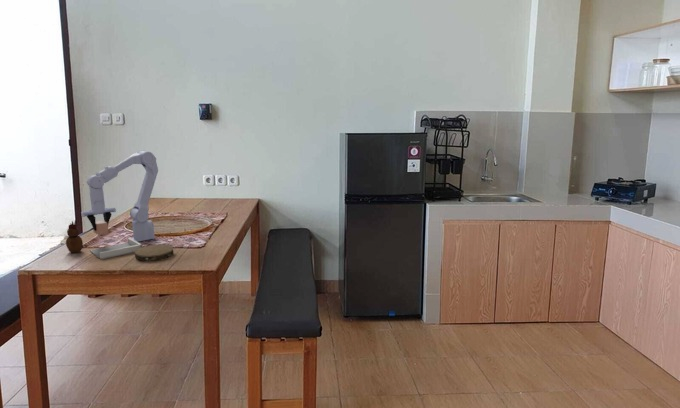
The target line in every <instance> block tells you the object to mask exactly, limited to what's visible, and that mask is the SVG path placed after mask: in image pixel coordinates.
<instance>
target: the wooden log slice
mask: <svg viewBox="0 0 680 408" xmlns="http://www.w3.org/2000/svg"><path fill="white" fill-rule="evenodd" d="M173 255H174V247H173V246H171V245H169V244H168V245H167V244H154V245H147V246H142V248H140V249H137V250H136V251H135V253H134V258H135V260H136V261H139V262H144V263H145V262H148V263H150V262H158V261H159V262H160V261H163V260H167V259H169V258H172V257H173Z"/></svg>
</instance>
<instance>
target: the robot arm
mask: <svg viewBox="0 0 680 408" xmlns="http://www.w3.org/2000/svg"><path fill="white" fill-rule="evenodd" d="M157 163H158V162H157V158H156V156H155V154H153V152H151V151H146V150H138V151H137V152H134V153H133V154H131V155H130V156H128V157H127V158H125V159H123V160H122V161H120V162H119V163H117V164H116V165H114V166H113V165H106V166H104V167H103V169H102V170H100V171H99V172H97V171H96V172H95V174H94V175H93V174H92V175H90V176H89V177H88V178H87V181H86V184H87V186H88V189H89V200H90V206H91V210H85V211H81V212H80V213H81V217H83V218H85V217H86V218H87V219H88V221H89V222H90V224H91V227H92V229H93V230H92V231H94V230H95V231H96V223H95V222H96V217H95V216H97V215H102V216H103V221H105V222H107V224H108V225H109V223H110V219H111V217H112V213H117V212H116V211H117V210H116V207H107V208H106V204H105V202H106V201H105V196H104V195H105V194H104V189H103V188H104V185H105V184H106V183H108V182H110V181H112V180H113V179H114V178H116V177H118V176H119V175H118V174H119V173H120V172H122V171H123V170H125V169H127V168H129V167H131V166H133V165H141V166H142V167H143V169H144V170H145V175H144V178H143V181H142V184H141V188H140V191H139V194H138V198H137V200H136V202H135V203H134V205H133V207H132V209H131V210H130V212H129V216H130V219H131V218H132V221H131V225H132V226H131V227H132V237H130V238H131V239H133V240H135V241H137V242H138V243H140V242H142V241H148V240H149V241H150V240H155V239H156V237H155V226H154V223H153V221H152V220H151V219H149V210H150V208H149V203H150V199H151V196H152V193H153V190H154V186H155V183H156V180H157V176H158V172H159V167H158V164H157ZM148 219H149V220H148Z"/></svg>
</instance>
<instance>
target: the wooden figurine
mask: <svg viewBox="0 0 680 408" xmlns="http://www.w3.org/2000/svg"><path fill="white" fill-rule="evenodd" d="M77 226H78V225H77V220H76V219H75V220H74V221H73V220H72V221H71V223H69V224H68V228H67V231H66V233H67V236H68V237H67V238H66V240H65V247H66V248H67V250H68V251H69V253H72V254H77V253H80V252H81V251H82V250H83V246H84V244H83V242H84V241H83V239H82V237H81V236H80V235H79V234H80V230H79V228H78V227H77Z"/></svg>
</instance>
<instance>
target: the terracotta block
mask: <svg viewBox="0 0 680 408" xmlns="http://www.w3.org/2000/svg"><path fill="white" fill-rule="evenodd" d="M95 223H96V231H95V230H93V233H95V234H97V235H98V236H100V235H107V234H109V224H107V222H105V221H104V219H103V220H95Z"/></svg>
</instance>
